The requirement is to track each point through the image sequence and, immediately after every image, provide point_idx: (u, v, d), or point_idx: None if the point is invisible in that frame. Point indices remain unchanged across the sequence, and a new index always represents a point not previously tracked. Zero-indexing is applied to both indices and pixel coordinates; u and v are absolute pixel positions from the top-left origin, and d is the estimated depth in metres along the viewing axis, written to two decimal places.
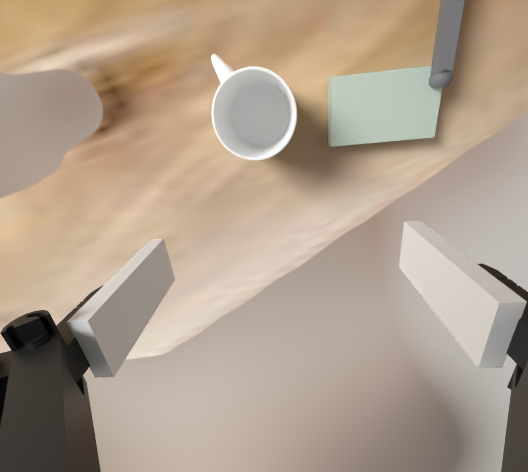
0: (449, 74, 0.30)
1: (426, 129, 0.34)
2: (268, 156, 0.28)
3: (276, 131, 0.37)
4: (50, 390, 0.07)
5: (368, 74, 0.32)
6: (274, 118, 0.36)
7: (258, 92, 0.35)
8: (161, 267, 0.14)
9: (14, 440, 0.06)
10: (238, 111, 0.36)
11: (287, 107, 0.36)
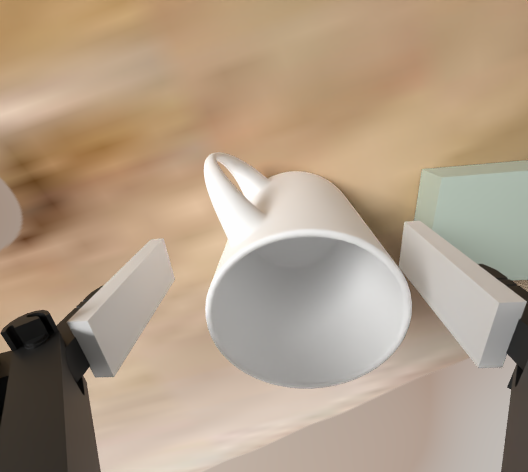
0: None
1: None
2: (331, 383, 0.13)
3: (320, 248, 0.21)
4: (50, 390, 0.07)
5: (515, 174, 0.16)
6: None
7: None
8: (161, 267, 0.14)
9: (14, 440, 0.06)
10: None
11: None
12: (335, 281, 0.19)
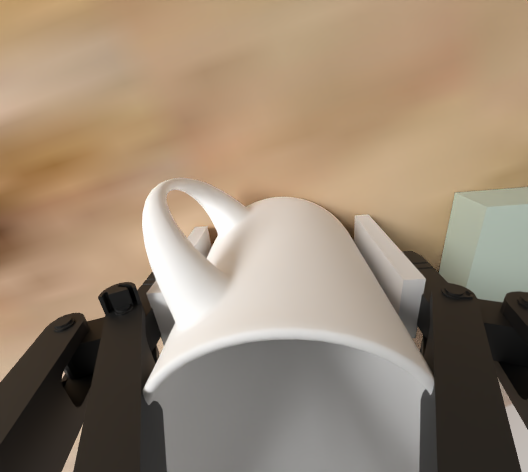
0: None
1: None
2: None
3: None
4: (131, 357, 0.08)
5: None
6: None
7: None
8: (206, 252, 0.15)
9: (101, 395, 0.07)
10: None
11: None
12: None
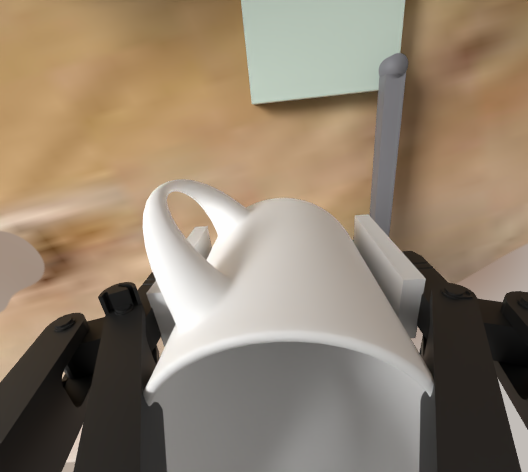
0: None
1: None
2: None
3: None
4: (131, 357, 0.08)
5: None
6: None
7: None
8: (206, 252, 0.15)
9: (101, 395, 0.07)
10: None
11: None
12: None
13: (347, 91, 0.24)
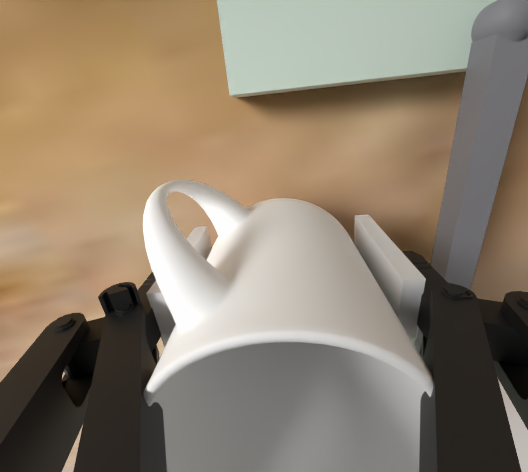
0: None
1: None
2: None
3: None
4: (131, 357, 0.08)
5: None
6: None
7: None
8: (206, 252, 0.15)
9: (101, 395, 0.07)
10: None
11: None
12: None
13: (407, 71, 0.13)
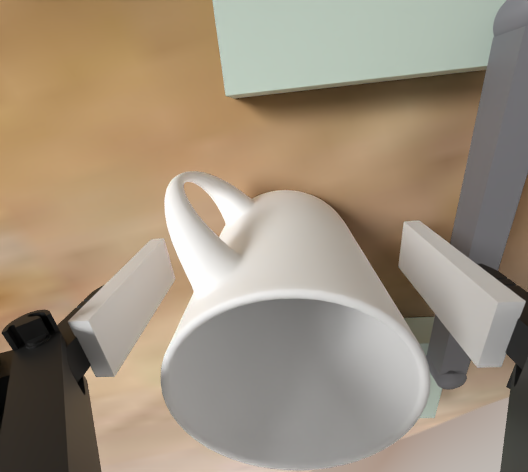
0: (460, 376, 0.17)
1: None
2: (325, 465, 0.10)
3: None
4: (51, 390, 0.07)
5: None
6: None
7: None
8: (162, 267, 0.14)
9: (15, 439, 0.06)
10: None
11: None
12: (331, 318, 0.16)
13: (421, 69, 0.12)
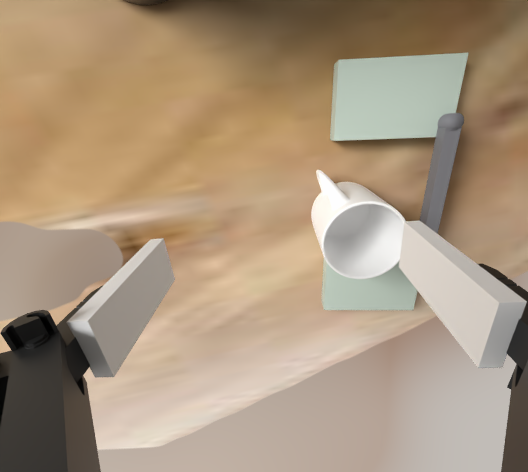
0: None
1: (406, 304, 0.39)
2: (371, 276, 0.28)
3: (355, 226, 0.37)
4: (50, 390, 0.07)
5: None
6: (355, 214, 0.37)
7: None
8: (161, 267, 0.14)
9: (14, 440, 0.06)
10: None
11: (370, 206, 0.36)
12: (366, 242, 0.34)
13: (411, 136, 0.30)
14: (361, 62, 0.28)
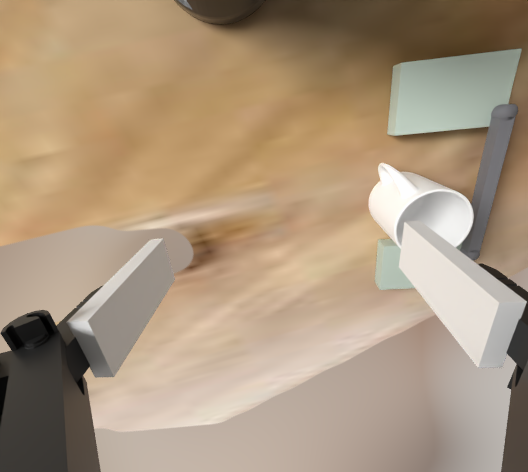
0: (477, 253, 0.39)
1: None
2: None
3: (409, 212, 0.41)
4: (50, 390, 0.07)
5: None
6: None
7: None
8: (161, 267, 0.14)
9: (14, 440, 0.06)
10: None
11: None
12: None
13: (466, 127, 0.34)
14: (422, 63, 0.31)
